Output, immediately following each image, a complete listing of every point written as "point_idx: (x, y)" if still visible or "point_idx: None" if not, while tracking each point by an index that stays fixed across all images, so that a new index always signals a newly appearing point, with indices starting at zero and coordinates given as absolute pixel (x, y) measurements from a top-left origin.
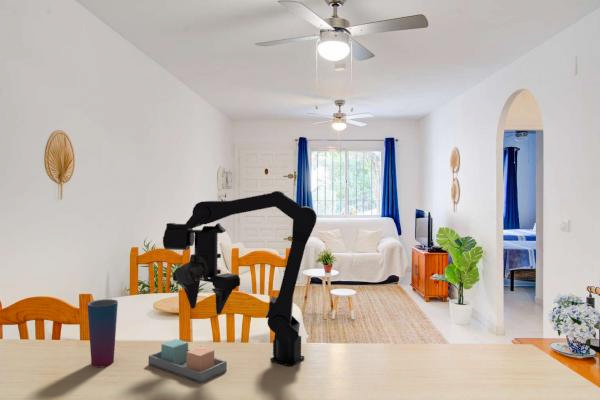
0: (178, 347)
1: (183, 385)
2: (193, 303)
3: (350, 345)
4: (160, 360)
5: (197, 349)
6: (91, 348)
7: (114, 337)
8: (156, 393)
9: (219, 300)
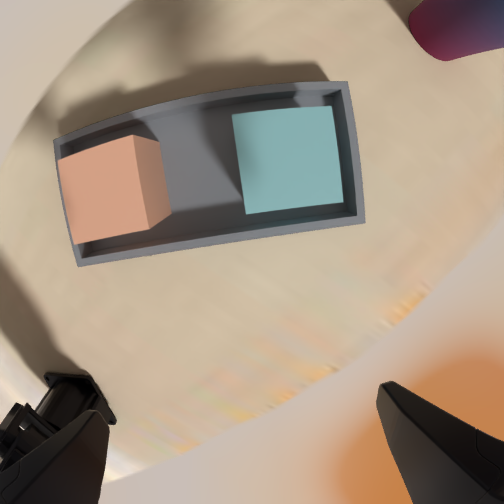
0: (236, 146)
1: (94, 93)
2: (393, 422)
3: None
4: (269, 84)
5: (124, 192)
6: None
7: (466, 18)
8: (114, 20)
9: (8, 471)
